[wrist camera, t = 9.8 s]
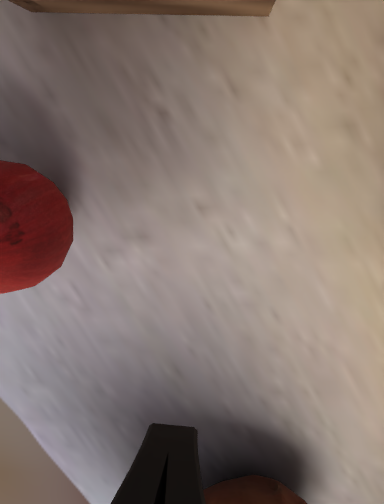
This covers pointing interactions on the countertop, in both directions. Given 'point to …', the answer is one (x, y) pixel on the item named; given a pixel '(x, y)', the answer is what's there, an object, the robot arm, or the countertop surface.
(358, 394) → the countertop surface
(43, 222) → the onion
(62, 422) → the countertop surface
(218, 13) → the wooden frame
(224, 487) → the butternut squash
